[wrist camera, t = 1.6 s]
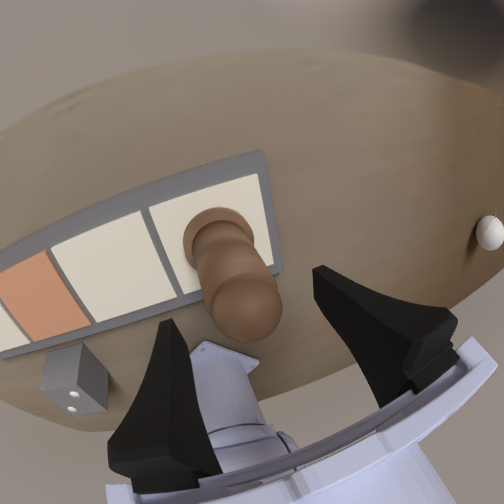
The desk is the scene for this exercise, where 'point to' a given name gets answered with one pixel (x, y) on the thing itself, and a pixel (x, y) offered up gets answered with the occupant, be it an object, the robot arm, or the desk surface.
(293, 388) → the desk surface
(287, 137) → the desk surface
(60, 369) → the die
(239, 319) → the pawn
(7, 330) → the board
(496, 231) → the seamed sphere
